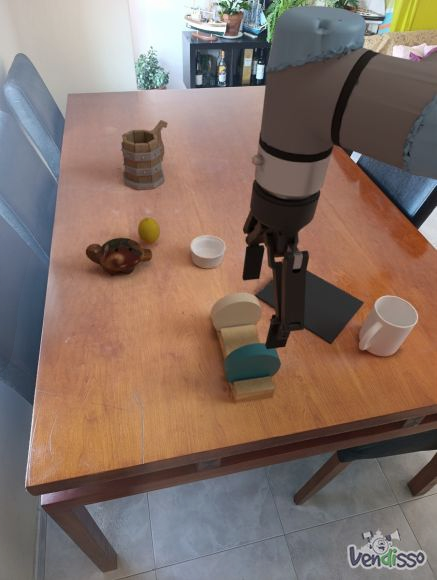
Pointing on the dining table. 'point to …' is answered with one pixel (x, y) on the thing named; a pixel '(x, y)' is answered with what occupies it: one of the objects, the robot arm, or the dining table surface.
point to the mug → (387, 325)
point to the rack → (251, 387)
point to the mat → (321, 306)
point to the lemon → (148, 230)
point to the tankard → (143, 157)
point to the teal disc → (251, 362)
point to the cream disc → (236, 311)
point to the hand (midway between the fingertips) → (261, 309)
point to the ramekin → (207, 251)
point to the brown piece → (118, 255)
